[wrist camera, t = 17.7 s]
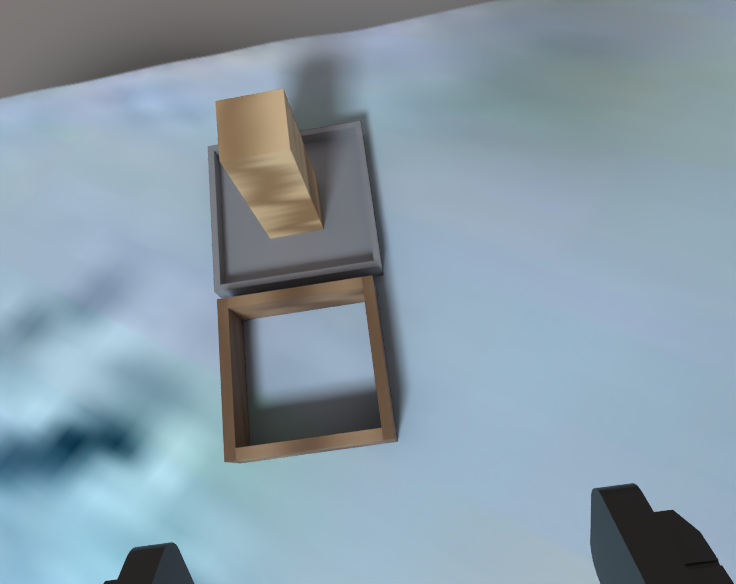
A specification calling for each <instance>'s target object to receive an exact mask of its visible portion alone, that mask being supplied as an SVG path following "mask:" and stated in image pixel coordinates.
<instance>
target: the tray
mask: <svg viewBox="0 0 736 584" xmlns="http://www.w3.org/2000/svg"><path fill="white" fill-rule="evenodd" d="M299 132H300V135H301V138H302V141H303V143H304V146H305V149H306V151H307V154H308V157H309V159H310V162H311V165H312V168H313V170H314V173H315V176H316V178H317V181H318V188H319V196H320V204H321V212H322V220H323V227H324V230H318V231H312V232H306V233H301V234H295V235H289V236H283V237H277V238H271V239H270V237H269V236H268V234H267V233H266V231H265V230H264V228H263V227H262V225H261V224H260V222H259V221H258V219H257V218H256V216H255V215H254V213H253V212H252V210H251V208H250V207H249V205H248V204H247V202H246V201H245V199H244V198H243V196H242V195H241V193H240V192H239V190H238V189H237V187H236V186H235V184H234V183H233V181H232V180H231V178H230V176H229V175H228V173H227V172H226V170H225V169H224V167H223V166H222V164H221V163H220V161H219V147H218V145H213V146H208V161H209V184H210V206H211V229H212V251H213V274H214V292H215V293H216V294H218V295H219V296H220V297H221V298H229V297H235V296H242V295H248V294H255V293H261V292H268V291H274V290H280V289H287V288H293V287H300V286H306V285H313V284H319V283H326V282H332V281H339V280H345V279H352V278H358V277H365V276H371V275H372V276H378V275H383V270H382V263H381V256H380V249H379V242H378V235H377V228H376V221H375V214H374V208H373V201H372V194H371V187H370V180H369V173H368V166H367V159H366V152H365V145H364V139H363V132H362V127H361V122H360V121H355V122H349V123H344V124H338V125H332V126H326V127H320V128H314V129H308V130H302V131H299Z"/></svg>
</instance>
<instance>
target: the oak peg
mask: <svg viewBox="0 0 736 584" xmlns="http://www.w3.org/2000/svg"><path fill="white" fill-rule="evenodd" d="M216 116H217V131H218V147H219V161H220V163H221V164H222V166H223V167H224V169H225V170H226V172H227V173H228V175H229V176H230V178H231V180H232V181H233V183H234V184H235V186H236V187H237V189H238V190H239V192H240V193H241V195H242V196H243V198H244V199H245V201H246V202H247V204H248V205H249V207H250V208H251V210H252V212H253V213H254V215H255V216H256V218H257V219H258V221H259V222H260V224H261V225H262V227H263V228H264V230H265V231H266V233H267V234H268V236H269V237H270V239H271V238H277V237H283V236H289V235H295V234H301V233H306V232H312V231H318V230H324V227H323V220H322V212H321V204H320V196H319V188H318V181H317V178H316V176H315V173H314V170H313V168H312V165H311V162H310V159H309V157H308V154H307V151H306V149H305V146H304V143H303V141H302V138H301V135H300V132H299V130H298V127H297V124H296V122H295V119H294V116H293V114H292V111H291V108H290V105H289V103H288V100H287V97H286V95H285V92H284V89H279V90H274V91H268V92H263V93H257V94H252V95H246V96H241V97H236V98H230V99H225V100H219V101H216Z"/></svg>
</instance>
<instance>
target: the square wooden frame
mask: <svg viewBox="0 0 736 584" xmlns="http://www.w3.org/2000/svg"><path fill="white" fill-rule="evenodd" d="M360 302H365V307H366V314H367V322H368V329H369V337H370V345H371V352H372V360H373V367H374V375H375V382H376V390H377V398H378V405H379V413H380V420H381V428H376V429H369V430H361V431H354V432H347V433H340V434H333V435H326V436H319V437H311V438H304V439H297V440H290V441H283V442H276V443H269V444H261V445H254V446H250V433H249V417H248V400H247V384H246V367H245V350H244V334H243V320H249V319H255V318H262V317H268V316H275V315H281V314H288V313H295V312H301V311H308V310H314V309H321V308H327V307H334V306H341V305H347V304H354V303H360ZM217 309H218V331H219V353H220V375H221V397H222V418H223V440H224V462H231V463H246V462H253V461H260V460H267V459H275V458H282V457H289V456H296V455H303V454H311V453H318V452H325V451H332V450H340V449H347V448H354V447H361V446H368V445H376V444H383V443H390V442H397V433H396V426H395V419H394V412H393V405H392V398H391V390H390V383H389V376H388V369H387V362H386V355H385V348H384V340H383V333H382V326H381V319H380V312H379V305H378V298H377V290H376V287H375V283H374V279H373V276H372V275H371V276H365V277H358V278H352V279H345V280H339V281H332V282H326V283H319V284H313V285H306V286H300V287H293V288H287V289H280V290H274V291H268V292H261V293H255V294H248V295H242V296H235V297H229V298H222V299H217Z"/></svg>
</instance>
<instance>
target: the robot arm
mask: <svg viewBox="0 0 736 584" xmlns="http://www.w3.org/2000/svg"><path fill="white" fill-rule="evenodd" d="M590 545H591V553H592V558H593V563H594V566H595V570H596V573H597V576H598V578H599V581H600V583H601V584H734V583H733V581H732V580H731V578H730V577H729V575H728V574H727V572H726V571H725V569H724V568H723V566H722V565H721V566H720V564H719V562H718V559H717V557H716V555H715V554H714V552H713V551H712V549H711V548H710V546H709V545H708V543H707V542H706V540H705V539H704V537H703V536H702V534H701V533H700V531H698V530H697V529H696V528H695V527H693V526H692V525H691V524H690V523H688V522H687V521H686V520H685V519H684V518H682V517H681V516H680V515H679V514H677V513H676V512H675V511H674V510H667V511H659V512H653V510H652V508H651V506H650V505H649V503H648V501H647V500H646V498H645V496H644V495H643V493H642V491H641V490H640V488H639V487H638V486H637V485H636V484H634V483H631V484H624V485H616V486H609V487H601V488H594V489H593V490H592V493H591V535H590ZM104 584H194V582H193V580H192V577H191V575H190V573H189V571H188V569H187V566H186V564H185V562H184V560H183V557H182V555H181V553H180V551H179V549H178V547H177V545H176V544H175V543H172V542H171V543H164V544H156V545H149V546H141V547H135V548H133V549H132V550H131V551H130V552H129V554H128V556H127V558H126V560H125V562H124V565H123V567H122V570H121V572H120V575H119V577H118V579H117V580H110V581H105V582H104Z"/></svg>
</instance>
